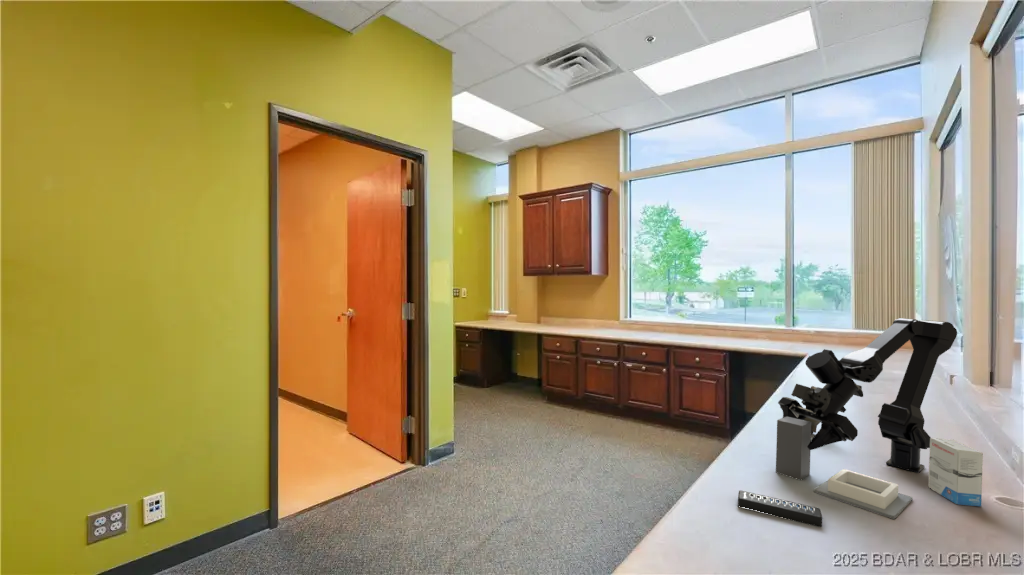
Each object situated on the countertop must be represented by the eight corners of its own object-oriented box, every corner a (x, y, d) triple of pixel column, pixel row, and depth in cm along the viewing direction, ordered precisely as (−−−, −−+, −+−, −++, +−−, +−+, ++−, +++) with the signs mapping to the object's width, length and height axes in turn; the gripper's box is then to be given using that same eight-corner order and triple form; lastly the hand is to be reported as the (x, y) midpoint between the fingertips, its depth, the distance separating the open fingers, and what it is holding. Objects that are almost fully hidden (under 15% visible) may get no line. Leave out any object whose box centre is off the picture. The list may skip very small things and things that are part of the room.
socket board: (836, 476, 108) (836, 463, 108) (912, 499, 97) (912, 485, 97) (813, 491, 100) (814, 478, 100) (894, 519, 89) (894, 503, 89)
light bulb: (819, 432, 141) (821, 385, 141) (825, 438, 136) (826, 389, 136) (799, 430, 143) (800, 383, 143) (804, 435, 138) (805, 387, 138)
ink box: (982, 507, 94) (984, 452, 94) (955, 504, 95) (957, 450, 95) (951, 489, 103) (953, 438, 103) (927, 486, 104) (928, 436, 104)
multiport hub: (822, 529, 85) (822, 517, 85) (737, 509, 92) (737, 497, 92) (819, 519, 89) (820, 507, 89) (738, 500, 96) (738, 489, 96)
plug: (785, 466, 113) (786, 416, 113) (809, 474, 109) (811, 422, 109) (775, 472, 110) (777, 419, 110) (800, 480, 106) (802, 425, 106)
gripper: (785, 366, 119) (747, 408, 118) (849, 382, 101) (805, 432, 99) (809, 395, 121) (772, 437, 119) (877, 416, 102) (834, 465, 101)
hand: (793, 441), depth 110 cm, fingers open, 9 cm apart
